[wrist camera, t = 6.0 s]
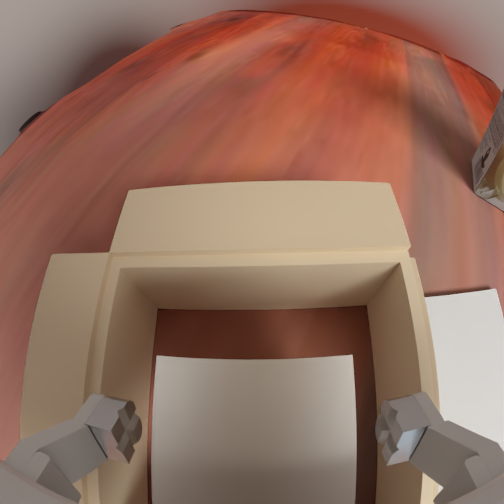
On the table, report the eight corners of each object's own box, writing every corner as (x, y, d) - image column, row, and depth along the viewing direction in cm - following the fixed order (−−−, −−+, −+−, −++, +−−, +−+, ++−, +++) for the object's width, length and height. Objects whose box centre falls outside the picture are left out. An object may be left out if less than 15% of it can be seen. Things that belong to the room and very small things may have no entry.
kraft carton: (91, 547, 8) (41, 569, 3) (112, 248, 20) (74, 197, 15) (381, 565, 7) (417, 603, 2) (368, 242, 19) (395, 183, 14)
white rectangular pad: (397, 513, 9) (400, 515, 9) (387, 303, 17) (390, 300, 16) (509, 462, 9) (513, 461, 9) (492, 291, 16) (495, 288, 16)
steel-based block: (220, 462, 12) (153, 525, 4) (221, 388, 15) (156, 355, 6) (303, 462, 12) (352, 529, 4) (302, 387, 15) (352, 354, 6)
